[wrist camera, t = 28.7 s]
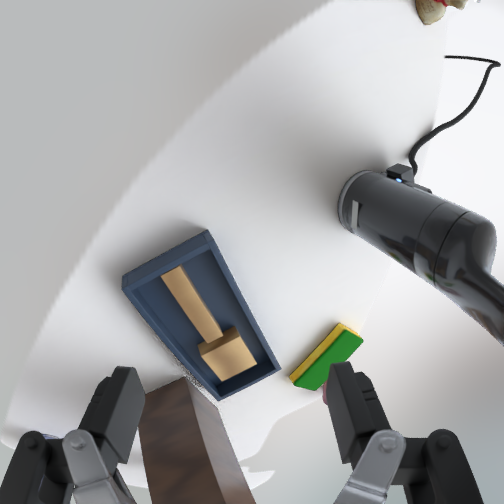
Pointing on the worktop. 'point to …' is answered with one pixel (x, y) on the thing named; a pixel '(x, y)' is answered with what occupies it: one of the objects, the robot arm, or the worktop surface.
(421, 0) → the chocolate bunny
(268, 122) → the worktop surface
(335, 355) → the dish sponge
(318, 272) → the worktop surface
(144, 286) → the tray
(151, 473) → the stand
